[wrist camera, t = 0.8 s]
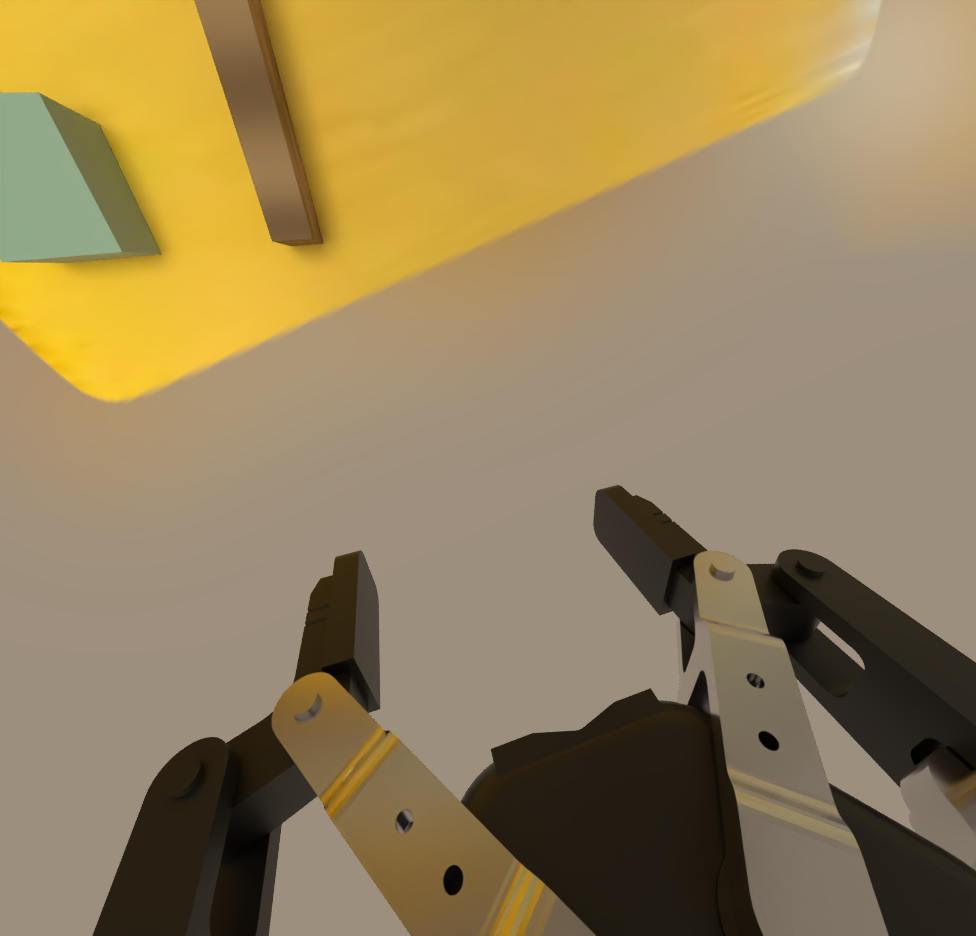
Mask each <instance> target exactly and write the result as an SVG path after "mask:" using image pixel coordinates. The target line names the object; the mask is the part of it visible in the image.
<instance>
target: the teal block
mask: <svg viewBox="0 0 976 936" xmlns="http://www.w3.org/2000/svg"><path fill="white" fill-rule="evenodd" d="M151 255H162V254H161V252H160V250H159V248H158V246H157V244H156V242H155V239H154V237H153V235H152V233H151V231H150V229H149V227H148V225H147V223H146V221H145V219H144V216H143V214H142V212H141V210H140V208H139V206H138V204H137V202H136V200H135V198H134V196H133V193H132V191H131V189H130V187H129V185H128V183H127V181H126V179H125V177H124V175H123V173H122V170H121V168H120V166H119V164H118V162H117V160H116V158H115V156H114V154H113V152H112V150H111V147H110V145H109V143H108V141H107V139H106V137H105V135H104V133H103V131H102V129H101V127H100V125H99V124H98V123H96V122H94V121H92V120H90V119H88V118H86V117H84V116H82V115H80V114H78V113H77V112H75V111H73V110H71V109H69V108H67V107H65V106H63V105H61V104H59V103H58V102H56V101H54V100H52V99H50V98H48V97H46V96H44V95H42V94H40V93H0V259H1V260H2V262H31V263H70V262H81V261H93V260H104V259H116V258H128V257H139V256H151Z"/></svg>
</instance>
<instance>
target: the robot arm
mask: <svg viewBox="0 0 976 936" xmlns="http://www.w3.org/2000/svg"><path fill="white" fill-rule="evenodd" d="M594 530H595V534H596V536H597V538H598V540H599V541H600V543H601V544H602V545H603V546H604V548H605V549H606V550H607V551H608V552H609V554H610V555H611V556H612V557H613V559H614V560H615V561H616V562H617V564H618V565H619V566H620V567H621V569H622V570H623V571H624V572H625V573H626V574H627V576H628V577H629V578H630V580H631V581H632V582H633V583H634V584H635V586H636V587H637V588H638V589H639V591H640V592H641V593H642V594H643V595H644V597H645V598H646V599H647V601H648V602H649V603H650V604H651V605H652V607H653V608H654V609H655V610H656V611H657V613H658V614H659V615H662V614H665V613H668V612H671V611H673V612H674V613H675V614H676V615H677V616H678V619H677V644H678V664H679V690H678V698H677V702H671V701H658V699H657V698H656V696H655V695H654V693H653V691H652V690H651V689H648V690H645V691H642V692H640V693H638V694H635V695H632V696H629V697H627V698H624V699H621V700H619V701H616V702H614V703H613V704H611V705H610V706H609V707H608V708H606V709H605V710H604V711H603V712H602V713H600V714H599V715H598V716H597V717H596V718H594V719H593V720H592V721H591V722H590V723H588V724H587V725H586V726H585V727H583V728H582V729H580V730H577V731H562V732H545V733H532V734H529V735H527V736H524V737H522V738H519V739H516V740H514V741H511V742H509V743H506V744H503V745H501V746H498V747H495V748H493V749H491V752H492V757H493V761H494V762H493V763H492V764H491V765H489V766H488V767H487V768H486V769H485V770H484V771H483V772H482V773H481V774H480V775H479V776H478V777H477V778H476V779H475V780H474V782H473V783H472V784H471V786H470V787H469V788H468V790H467V791H466V793H465V795H464V797H463V799H462V800H461V802H460V801H459V800H458V799H457V798H456V797H455V796H454V795H453V794H452V793H451V792H450V791H449V790H448V789H447V788H446V787H445V786H444V785H443V783H441V781H440V780H439V779H438V778H437V777H436V776H435V775H434V774H433V773H432V772H431V771H430V770H429V769H428V768H427V767H426V766H425V765H424V764H423V763H422V762H421V761H420V760H419V759H418V758H417V757H416V756H415V755H414V754H413V753H412V752H411V751H410V750H409V749H408V748H407V747H406V746H405V745H404V744H403V743H402V742H401V741H400V740H399V739H398V738H397V737H396V736H395V735H394V734H393V733H392V732H390V731H389V730H388V731H385V730H384V729H383V728H382V727H381V726H380V725H379V724H378V723H377V722H376V721H375V720H374V719H373V718H372V717H371V716H370V715H369V714H368V713H369V712H372V711H375V710H378V709H380V669H379V668H380V664H379V603H378V594H377V589H376V585H375V582H374V580H373V577H372V575H371V572H370V570H369V567H368V564H367V562H366V559H365V557H364V554H363V552H362V551H357V552H353V553H349V554H345V555H341V556H337V557H336V558H335V562H334V569H333V575H332V576H328V577H324V578H321V579H320V580H319V582H318V583H317V585H316V587H315V588H314V590H313V592H312V593H311V596H310V601H309V606H308V613H307V616H306V622H305V624H306V626H305V627H304V632H303V638H302V643H301V648H300V653H299V659H298V664H297V669H296V674H295V679H294V682H293V684H292V685H291V686H290V687H289V688H288V689H287V690H286V691H285V692H284V693H283V695H282V696H281V698H280V699H279V701H278V702H277V704H276V706H275V708H274V711H273V712H272V713H271V714H270V715H269V716H267V717H266V718H265V719H263V720H262V721H260V722H259V723H257V724H256V725H254V726H252V727H251V728H249V729H248V730H246V731H245V732H243V733H241V734H240V735H238V736H237V737H235V738H233V739H232V740H230V741H229V742H227V743H225V742H224V741H223V740H222V739H219V738H217V737H209V738H204V739H200V740H198V741H196V742H194V743H192V744H190V745H188V746H187V747H185V748H184V749H182V750H181V751H180V752H179V753H177V754H176V755H175V756H174V757H173V758H172V759H171V760H169V762H168V763H167V764H166V765H165V766H164V767H163V768H162V769H161V771H160V772H159V773H158V775H157V776H156V777H155V779H154V780H153V782H152V784H151V786H150V787H149V789H148V792H147V794H146V796H145V799H144V801H143V804H142V807H141V809H140V812H139V815H138V817H137V820H136V822H135V825H134V828H133V830H132V833H131V836H130V838H129V841H128V844H127V846H126V849H125V851H124V854H123V857H122V859H121V862H120V865H119V867H118V870H117V873H116V875H115V878H114V881H113V883H112V886H111V888H110V891H109V894H108V896H107V899H106V902H105V904H104V907H103V909H102V912H101V915H100V918H99V920H98V923H97V925H96V928H95V930H94V933H93V936H269V927H270V919H271V910H272V902H273V893H274V884H275V876H276V867H277V859H278V851H279V842H280V833H281V825H282V823H283V822H285V821H286V820H287V819H288V818H290V817H291V816H292V815H294V814H295V813H296V812H297V811H299V810H300V809H301V808H303V807H304V806H305V805H307V804H308V803H309V802H310V801H312V800H313V799H314V798H315V797H317V796H318V797H319V798H320V800H321V801H322V803H323V805H324V808H325V811H326V812H327V814H328V816H329V817H330V819H331V820H332V822H333V823H334V825H335V826H336V828H337V829H338V830H339V832H340V833H341V835H342V836H343V838H344V839H345V840H346V842H347V843H348V845H349V846H350V848H351V849H352V851H353V852H354V854H355V855H356V856H357V858H358V859H359V861H360V862H361V864H362V865H363V867H364V868H365V870H366V871H367V872H368V874H369V875H370V877H371V878H372V880H373V881H374V883H375V884H376V886H377V887H378V888H379V890H380V891H381V893H382V894H383V896H384V897H385V899H386V900H387V901H388V903H389V904H390V906H391V907H392V909H393V910H394V912H395V913H396V914H397V916H398V918H399V919H400V920H401V922H402V923H403V925H404V926H405V928H406V929H407V931H408V932H409V933H410V935H411V936H976V663H975V662H974V661H972V660H971V659H970V658H968V657H967V656H965V655H964V654H962V653H961V652H960V651H958V650H957V649H955V648H954V647H952V646H951V645H950V644H948V643H947V642H945V641H944V640H943V639H941V638H940V637H938V636H937V635H935V634H934V633H933V632H931V631H930V630H928V629H927V628H925V627H924V626H922V625H921V624H920V623H918V622H917V621H915V620H914V619H912V618H911V617H910V616H908V615H907V614H905V613H904V612H902V611H901V610H900V609H898V608H897V607H895V606H894V605H892V604H891V603H890V602H888V601H887V600H885V599H884V598H882V597H881V596H879V595H878V594H877V593H875V592H874V591H872V590H871V589H870V588H868V587H867V586H865V585H864V584H862V583H861V582H860V581H858V580H856V579H855V578H854V577H852V576H851V575H849V574H848V573H847V572H845V571H844V570H842V569H841V568H839V567H838V566H837V565H835V564H834V563H832V562H831V561H829V560H828V559H826V558H824V557H822V556H820V555H817V554H815V553H812V552H808V551H803V550H796V549H795V550H793V549H792V550H786V551H783V552H782V553H780V554H779V556H778V558H777V560H776V562H775V564H745V563H743V562H742V561H741V560H740V559H738V558H736V557H734V556H732V555H730V554H727V553H724V552H719V551H708V550H706V549H705V548H704V547H703V546H702V545H701V544H699V543H698V542H697V541H696V540H695V539H694V538H692V537H691V536H690V535H689V534H688V533H687V532H686V531H684V530H683V529H682V528H681V527H680V526H679V525H677V524H676V523H675V522H672V520H671V519H670V518H669V517H668V516H667V515H666V514H663V513H662V511H661V510H660V509H659V508H658V507H656V506H655V505H654V504H653V503H652V502H650V501H648V500H646V499H643V498H641V497H639V496H637V495H636V496H632V495H631V494H629V493H628V492H627V491H626V490H625V489H624V488H623V487H622V486H619V485H616V486H612V487H608V488H604V489H600V490H598V491H597V492H596V496H595V510H594ZM820 621H821V622H822V623H824V624H825V625H826V626H827V627H828V628H830V629H831V630H832V631H833V632H834V633H835V634H836V635H838V636H839V637H840V638H841V639H842V640H843V641H845V642H846V643H847V644H848V645H849V646H851V647H852V648H853V649H854V650H855V651H856V652H857V653H858V654H859V655H860V657H861V659H862V660H863V663H864V665H865V670H864V669H863V668H862V667H860V666H859V665H858V664H857V663H856V662H855V661H854V660H852V659H851V658H850V657H849V656H848V655H847V654H846V653H845V652H843V651H842V650H841V649H840V648H839V647H838V646H837V645H835V644H834V643H833V642H832V641H831V640H830V639H829V638H828V637H826V636H825V635H824V634H823V633H822V632H821V631H820V630H818V629H817V626H818V624H819V623H820ZM796 678H797V679H798V680H799V682H800V683H801V684H802V685H803V686H804V687H805V688H806V689H807V690H808V691H809V692H810V693H811V694H812V695H813V696H814V697H815V698H816V699H817V701H819V703H820V704H821V705H822V706H823V707H824V708H825V709H826V710H827V711H828V712H829V713H830V714H831V715H832V716H833V717H834V718H835V719H836V721H837V722H839V724H840V725H841V726H842V727H843V728H844V729H845V730H846V731H847V732H848V733H849V734H850V735H851V736H852V737H853V738H854V740H855V741H856V742H857V743H858V744H859V745H860V746H861V747H862V748H863V749H864V750H865V751H866V752H867V753H868V754H869V755H870V756H871V757H872V758H873V760H874V761H876V763H877V764H878V765H879V766H880V767H881V768H882V769H883V770H884V771H885V772H886V773H887V774H888V775H889V776H890V777H891V778H892V780H893V781H894V782H895V783H896V784H897V785H898V786H899V787H900V788H901V793H902V796H903V798H904V801H905V803H906V805H907V807H908V808H909V810H910V811H911V812H910V814H909V821H910V823H911V825H912V827H913V828H914V830H915V831H916V832H917V833H915V832H913V831H911V830H910V829H908V828H906V827H904V826H903V825H901V824H899V823H898V822H896V821H894V820H892V819H890V818H889V817H887V816H885V815H884V814H882V813H880V812H878V811H877V810H875V809H873V808H872V807H870V806H868V805H866V804H864V803H863V802H861V801H859V800H858V799H856V798H854V797H852V796H851V795H849V794H847V793H845V792H843V791H842V790H840V789H838V788H837V787H835V786H833V785H832V784H830V783H828V780H827V777H826V774H825V771H824V768H823V764H822V761H821V758H820V755H819V751H818V748H817V745H816V742H815V739H814V736H813V732H812V729H811V726H810V722H809V719H808V716H807V713H806V710H805V706H804V703H803V700H802V697H801V693H800V690H799V687H798V684H797V681H796Z"/></svg>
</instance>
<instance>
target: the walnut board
mask: <svg viewBox="0 0 976 936" xmlns="http://www.w3.org/2000/svg"><path fill="white" fill-rule="evenodd" d="M194 1H195V4H196V7H197V10H198V13H199V16H200V19H201V22H202V26H203V29H204V32H205V35H206V38H207V41H208V44H209V47H210V50H211V53H212V56H213V60H214V63H215V66H216V69H217V72H218V75H219V78H220V81H221V84H222V87H223V91H224V94H225V97H226V100H227V103H228V106H229V109H230V112H231V115H232V118H233V121H234V125H235V128H236V131H237V134H238V137H239V140H240V143H241V146H242V149H243V152H244V155H245V159H246V162H247V165H248V168H249V171H250V174H251V177H252V180H253V183H254V186H255V190H256V193H257V196H258V199H259V202H260V205H261V208H262V211H263V214H264V217H265V220H266V224H267V227H268V230H269V233H270V236H271V239H272V241H273V242H277V243H281V244H285V245H289V246H296V245H310V244H323V240H322V236H321V233H320V229H319V225H318V221H317V217H316V214H315V210H314V206H313V202H312V198H311V195H310V191H309V187H308V183H307V179H306V175H305V172H304V168H303V164H302V160H301V156H300V153H299V149H298V145H297V141H296V137H295V133H294V130H293V126H292V122H291V118H290V114H289V111H288V107H287V103H286V99H285V95H284V92H283V88H282V84H281V80H280V76H279V72H278V69H277V65H276V61H275V57H274V53H273V50H272V46H271V42H270V38H269V34H268V30H267V27H266V23H265V19H264V15H263V11H262V8H261V4H260V0H194Z"/></svg>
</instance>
